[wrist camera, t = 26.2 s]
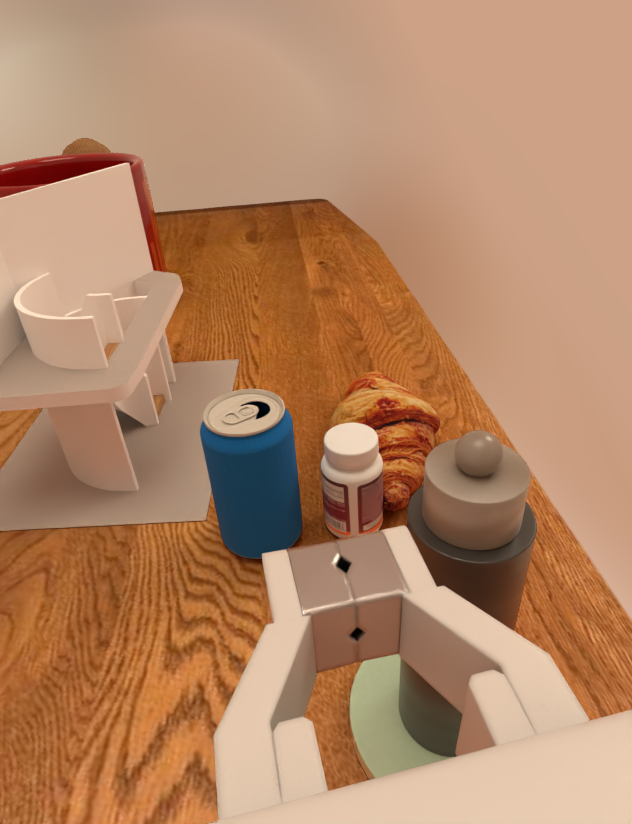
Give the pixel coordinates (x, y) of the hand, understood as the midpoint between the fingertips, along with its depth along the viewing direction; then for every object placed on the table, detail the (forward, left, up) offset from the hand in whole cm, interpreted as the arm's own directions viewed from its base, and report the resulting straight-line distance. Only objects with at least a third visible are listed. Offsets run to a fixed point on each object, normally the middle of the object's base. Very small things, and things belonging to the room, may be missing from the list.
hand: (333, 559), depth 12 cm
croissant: (+31, +17, -24) cm, 43 cm away
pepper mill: (+11, +1, -23) cm, 25 cm away
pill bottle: (+21, +14, -24) cm, 35 cm away
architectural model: (+19, +41, -24) cm, 52 cm away
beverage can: (+16, +19, -24) cm, 35 cm away
